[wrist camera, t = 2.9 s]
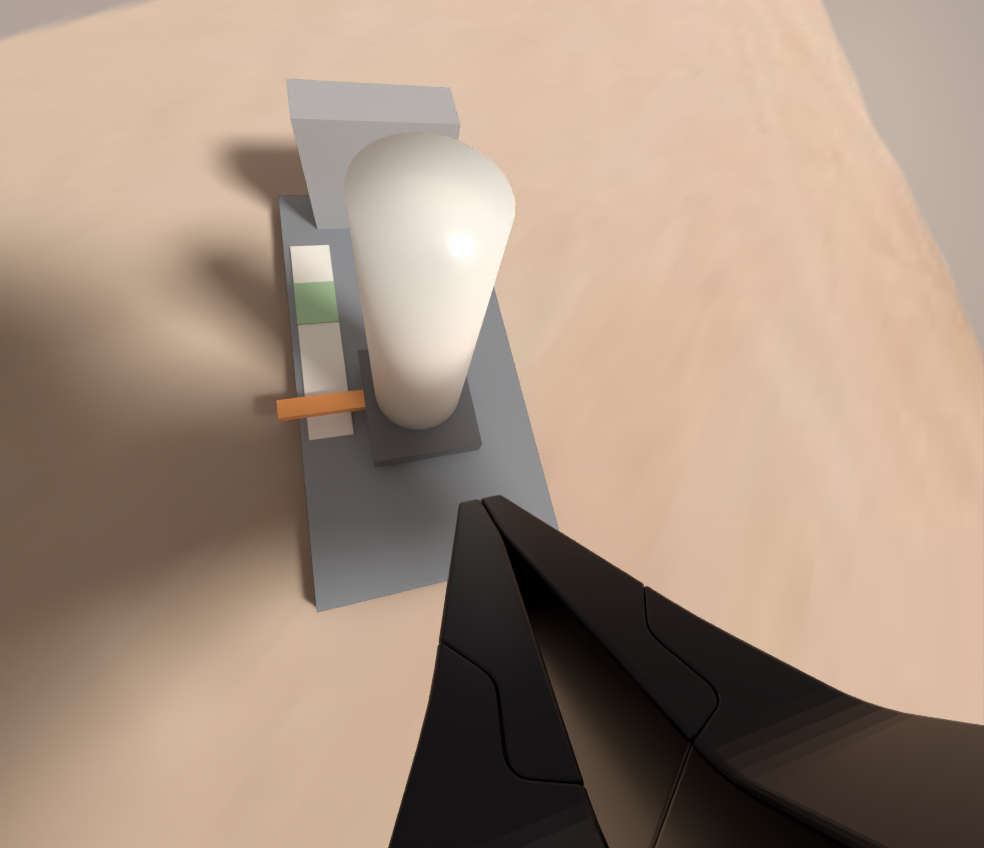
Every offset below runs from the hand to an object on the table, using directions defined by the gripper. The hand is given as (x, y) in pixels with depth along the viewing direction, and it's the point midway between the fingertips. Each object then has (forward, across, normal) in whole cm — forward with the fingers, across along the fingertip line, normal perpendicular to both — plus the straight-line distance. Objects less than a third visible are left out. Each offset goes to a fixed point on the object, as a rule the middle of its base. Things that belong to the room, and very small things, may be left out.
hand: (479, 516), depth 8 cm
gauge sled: (+9, +2, +2) cm, 10 cm away
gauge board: (+12, 0, +1) cm, 12 cm away
